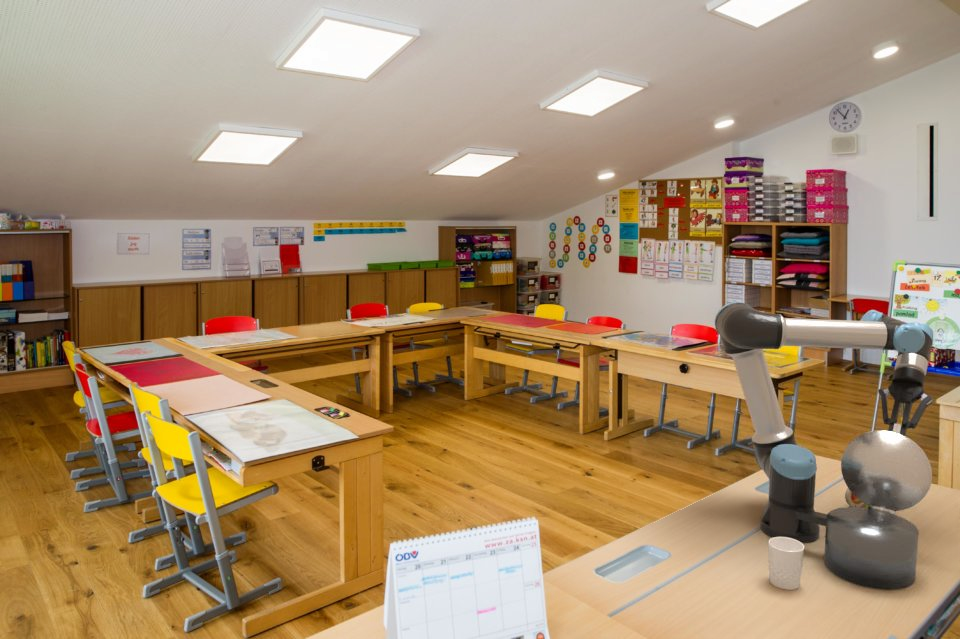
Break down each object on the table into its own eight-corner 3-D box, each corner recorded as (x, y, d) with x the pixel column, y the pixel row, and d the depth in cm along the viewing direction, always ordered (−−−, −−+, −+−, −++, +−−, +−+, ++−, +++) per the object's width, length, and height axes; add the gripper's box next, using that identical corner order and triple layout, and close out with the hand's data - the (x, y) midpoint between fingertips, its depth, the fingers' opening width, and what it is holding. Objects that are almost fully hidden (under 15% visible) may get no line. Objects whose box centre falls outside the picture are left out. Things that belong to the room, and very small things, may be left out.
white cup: (786, 594, 166) (789, 554, 165) (759, 579, 173) (761, 541, 172) (809, 586, 170) (811, 546, 169) (781, 571, 177) (783, 534, 176)
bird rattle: (862, 520, 211) (881, 503, 214) (853, 489, 207) (873, 473, 210) (843, 512, 216) (863, 496, 219) (834, 482, 213) (854, 466, 216)
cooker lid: (844, 424, 189) (848, 422, 193) (837, 503, 191) (841, 499, 194) (935, 439, 176) (937, 436, 179) (926, 523, 177) (929, 519, 181)
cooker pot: (782, 562, 181) (785, 518, 180) (806, 535, 197) (808, 494, 195) (906, 598, 164) (910, 549, 162) (921, 565, 179) (925, 520, 177)
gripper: (938, 384, 194) (923, 459, 184) (884, 377, 202) (867, 449, 192) (937, 368, 189) (922, 445, 179) (881, 362, 198) (864, 435, 187)
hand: (893, 447), depth 186 cm, fingers closed
